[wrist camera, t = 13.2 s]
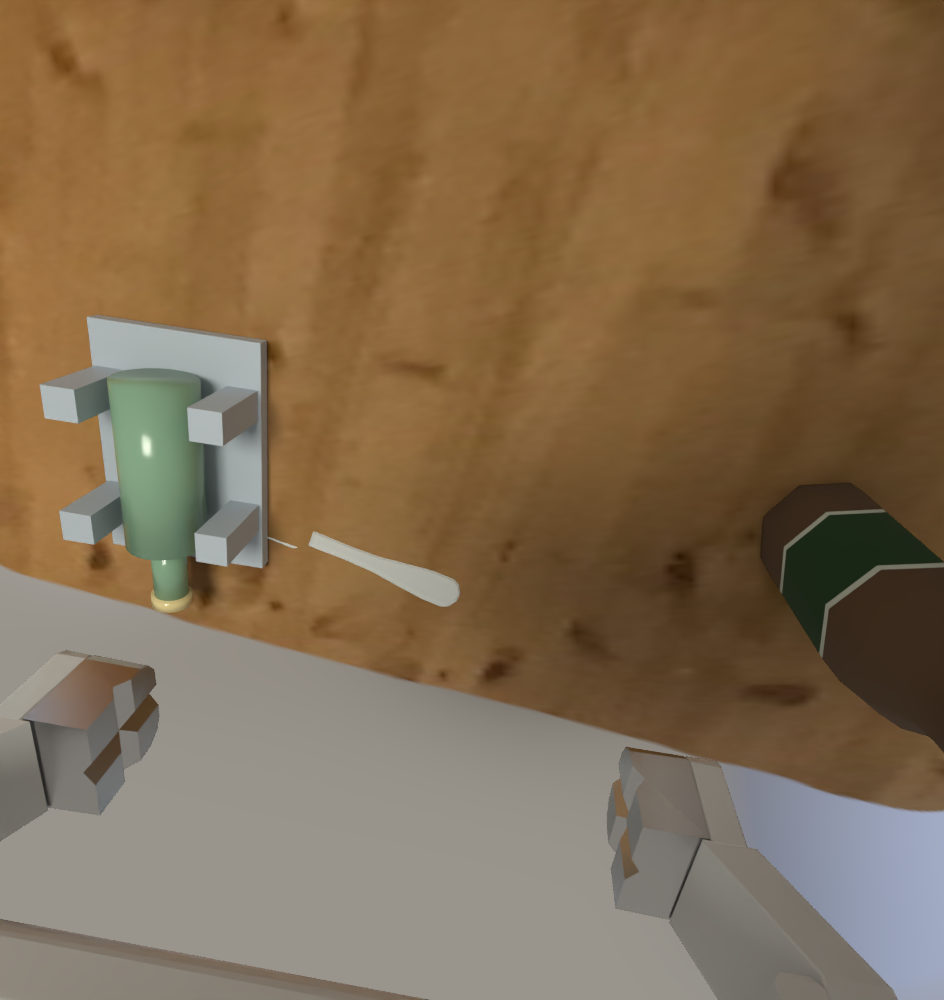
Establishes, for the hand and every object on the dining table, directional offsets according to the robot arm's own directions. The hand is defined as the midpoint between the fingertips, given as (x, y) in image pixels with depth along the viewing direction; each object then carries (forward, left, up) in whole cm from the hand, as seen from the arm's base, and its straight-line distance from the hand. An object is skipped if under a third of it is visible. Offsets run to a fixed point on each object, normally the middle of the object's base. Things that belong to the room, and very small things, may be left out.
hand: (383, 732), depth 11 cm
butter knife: (+14, -12, -32) cm, 37 cm away
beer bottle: (+8, +22, -31) cm, 39 cm away
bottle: (+11, -20, -30) cm, 38 cm away
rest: (+9, -20, -31) cm, 38 cm away
